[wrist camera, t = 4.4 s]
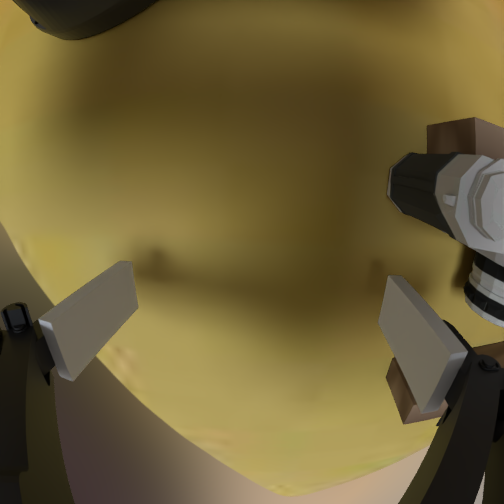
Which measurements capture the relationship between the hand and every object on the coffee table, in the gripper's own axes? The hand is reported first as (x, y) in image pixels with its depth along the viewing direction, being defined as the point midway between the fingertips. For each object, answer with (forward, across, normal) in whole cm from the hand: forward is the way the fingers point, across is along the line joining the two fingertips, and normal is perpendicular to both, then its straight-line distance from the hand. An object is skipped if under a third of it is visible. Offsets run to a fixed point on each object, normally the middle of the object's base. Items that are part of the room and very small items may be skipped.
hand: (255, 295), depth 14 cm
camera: (+4, +15, +4) cm, 15 cm away
